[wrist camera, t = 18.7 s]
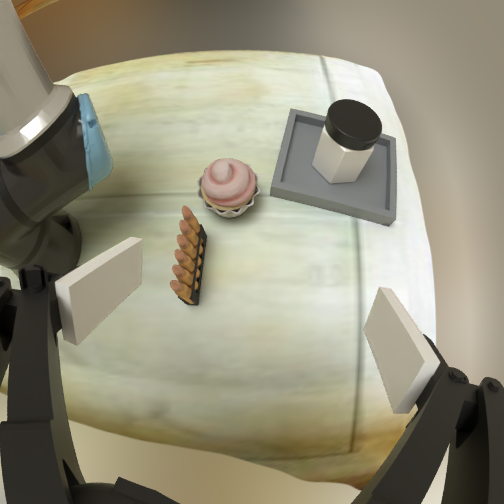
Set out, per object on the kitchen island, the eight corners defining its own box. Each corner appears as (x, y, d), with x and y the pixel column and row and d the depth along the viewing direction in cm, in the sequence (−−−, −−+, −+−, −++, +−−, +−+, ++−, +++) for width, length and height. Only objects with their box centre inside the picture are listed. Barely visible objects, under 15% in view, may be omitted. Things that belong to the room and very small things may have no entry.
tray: (269, 195, 47) (270, 186, 44) (289, 119, 52) (290, 108, 49) (388, 226, 46) (395, 219, 43) (389, 147, 51) (395, 138, 48)
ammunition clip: (198, 305, 42) (178, 291, 30) (185, 304, 42) (162, 290, 30) (206, 235, 45) (193, 199, 33) (195, 234, 45) (177, 198, 34)
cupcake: (253, 232, 45) (255, 203, 36) (194, 221, 46) (181, 191, 36) (264, 180, 48) (268, 143, 38) (209, 171, 48) (201, 134, 39)
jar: (352, 193, 46) (378, 151, 35) (306, 175, 47) (321, 128, 36) (362, 154, 49) (385, 110, 37) (320, 137, 49) (335, 90, 38)
